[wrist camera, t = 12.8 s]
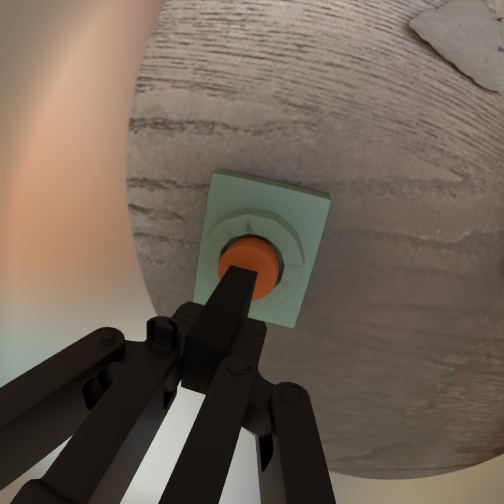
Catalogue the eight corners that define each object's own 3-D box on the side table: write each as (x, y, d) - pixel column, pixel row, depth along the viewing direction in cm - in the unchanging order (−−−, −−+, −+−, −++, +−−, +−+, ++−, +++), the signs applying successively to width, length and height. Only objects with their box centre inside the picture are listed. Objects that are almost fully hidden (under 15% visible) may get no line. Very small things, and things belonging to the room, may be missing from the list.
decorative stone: (521, 104, 16) (543, 102, 13) (412, 80, 16) (433, 71, 14) (502, 20, 13) (521, 12, 10) (391, -14, 14) (405, -32, 11)
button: (220, 281, 21) (213, 292, 19) (229, 230, 20) (222, 239, 18) (272, 294, 20) (269, 307, 19) (285, 244, 19) (283, 254, 18)
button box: (201, 289, 26) (184, 313, 22) (220, 169, 22) (202, 174, 18) (295, 314, 25) (292, 343, 21) (329, 194, 21) (334, 205, 17)
